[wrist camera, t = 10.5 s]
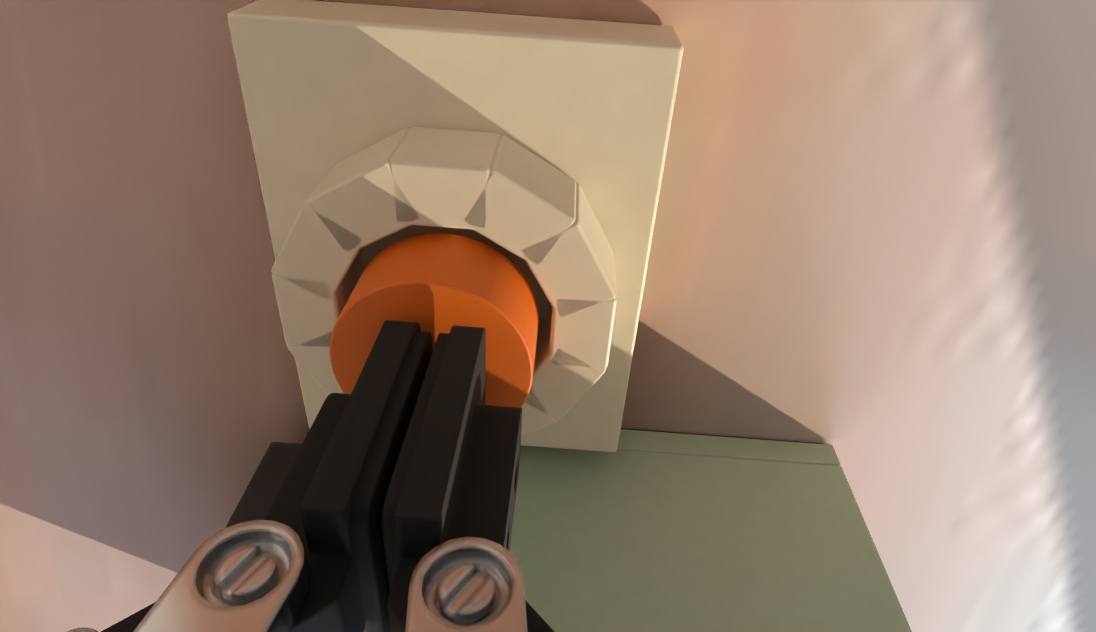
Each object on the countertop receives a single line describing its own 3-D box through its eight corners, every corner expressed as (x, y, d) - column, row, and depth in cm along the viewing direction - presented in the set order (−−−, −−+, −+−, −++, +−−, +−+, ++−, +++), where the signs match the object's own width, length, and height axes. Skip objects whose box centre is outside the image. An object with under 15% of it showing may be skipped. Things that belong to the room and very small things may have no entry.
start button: (347, 225, 12) (314, 273, 11) (543, 239, 12) (538, 289, 11) (366, 376, 14) (341, 435, 13) (534, 389, 14) (528, 449, 13)
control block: (262, -5, 13) (170, 34, 10) (674, 25, 13) (699, 72, 10) (328, 388, 19) (282, 485, 16) (614, 409, 19) (620, 510, 16)
